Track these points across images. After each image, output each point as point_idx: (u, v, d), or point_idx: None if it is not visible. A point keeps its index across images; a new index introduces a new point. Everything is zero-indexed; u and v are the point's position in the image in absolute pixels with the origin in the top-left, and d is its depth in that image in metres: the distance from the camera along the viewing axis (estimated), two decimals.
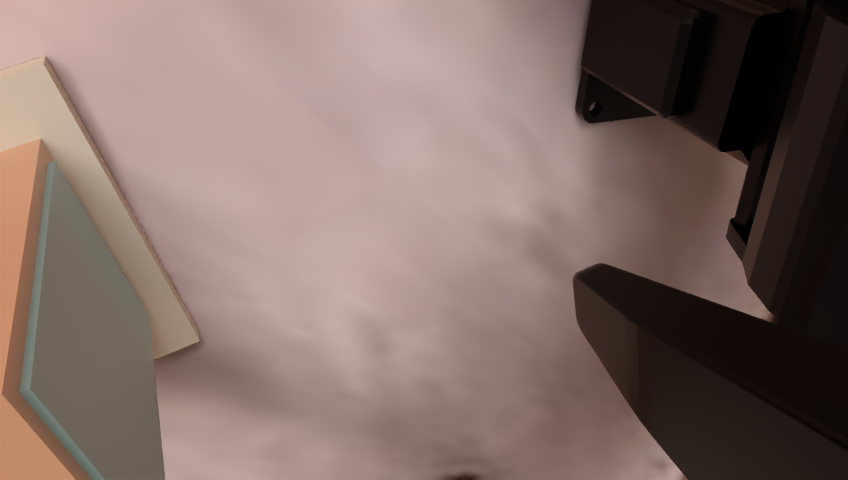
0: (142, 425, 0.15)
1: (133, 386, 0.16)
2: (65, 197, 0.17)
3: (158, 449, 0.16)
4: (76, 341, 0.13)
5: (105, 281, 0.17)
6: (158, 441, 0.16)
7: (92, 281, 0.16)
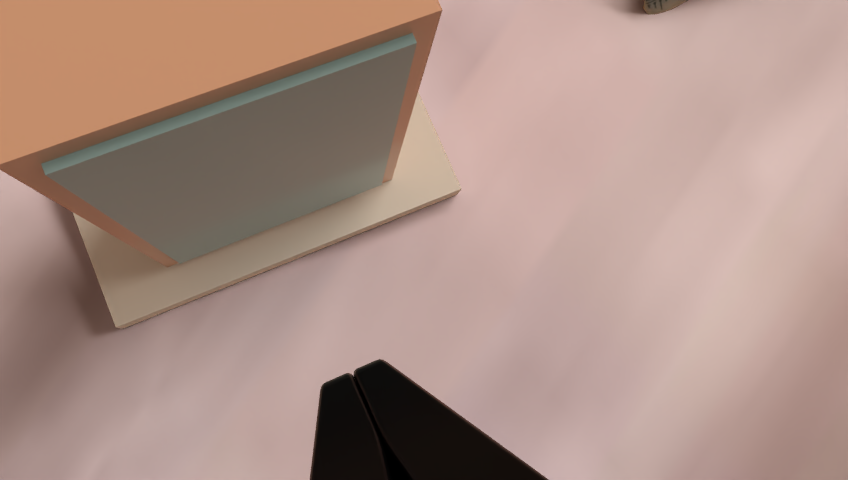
0: (173, 197, 0.12)
1: (203, 201, 0.13)
2: (361, 184, 0.17)
3: (125, 214, 0.12)
4: (333, 131, 0.12)
5: (279, 206, 0.16)
6: (127, 218, 0.12)
7: (306, 186, 0.15)
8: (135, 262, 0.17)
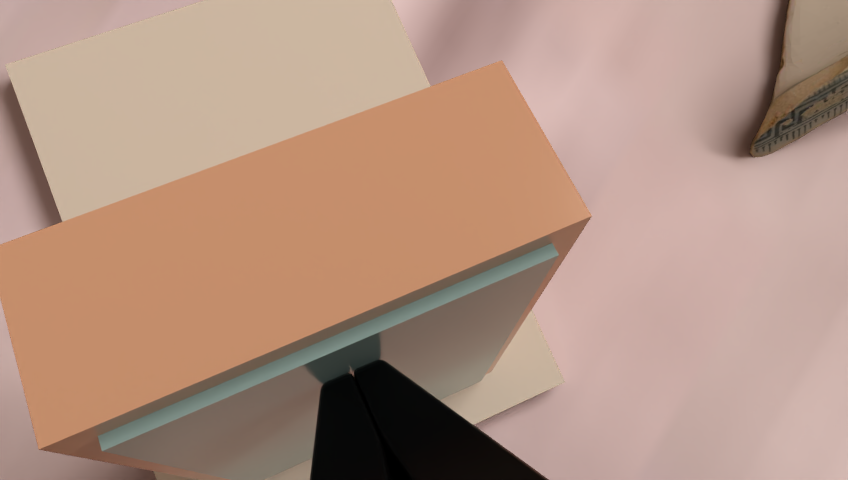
0: (254, 436, 0.10)
1: (287, 433, 0.11)
2: (460, 384, 0.15)
3: (196, 461, 0.10)
4: (444, 348, 0.10)
5: None
6: (199, 464, 0.10)
7: None
8: None
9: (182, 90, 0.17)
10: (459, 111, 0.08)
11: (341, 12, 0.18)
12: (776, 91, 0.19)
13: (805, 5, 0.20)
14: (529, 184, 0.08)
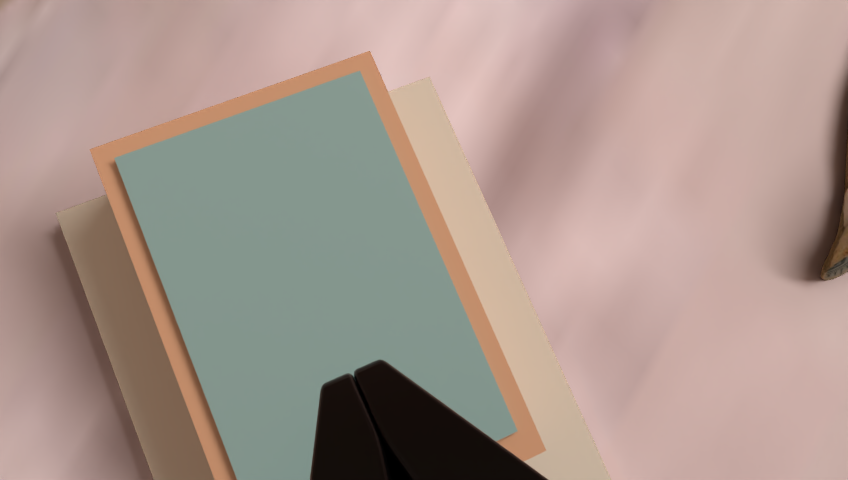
0: (216, 268, 0.14)
1: (251, 305, 0.14)
2: (473, 400, 0.14)
3: (175, 283, 0.14)
4: (350, 201, 0.14)
5: None
6: (178, 297, 0.14)
7: (375, 344, 0.14)
8: None
9: None
10: None
11: None
12: (846, 212, 0.18)
13: None
14: None
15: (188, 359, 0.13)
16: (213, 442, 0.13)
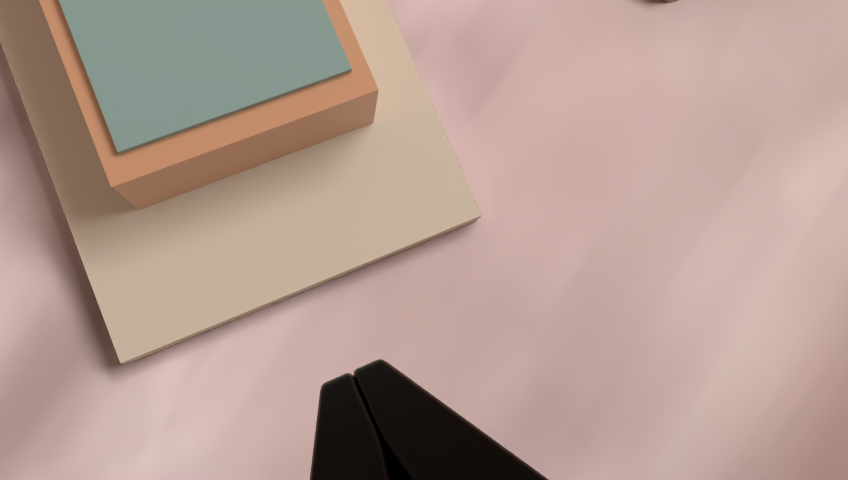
0: None
1: None
2: (311, 41, 0.16)
3: None
4: None
5: (210, 35, 0.15)
6: None
7: None
8: (141, 294, 0.16)
9: None
10: None
11: None
12: None
13: None
14: None
15: None
16: (75, 64, 0.15)
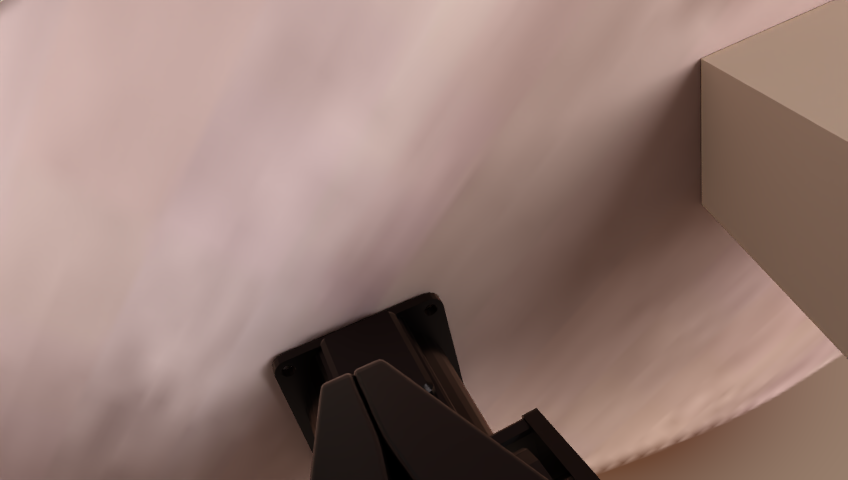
0: None
1: None
2: None
3: None
4: None
5: None
6: None
7: None
8: None
9: None
10: None
11: None
12: None
13: None
14: None
15: None
16: None
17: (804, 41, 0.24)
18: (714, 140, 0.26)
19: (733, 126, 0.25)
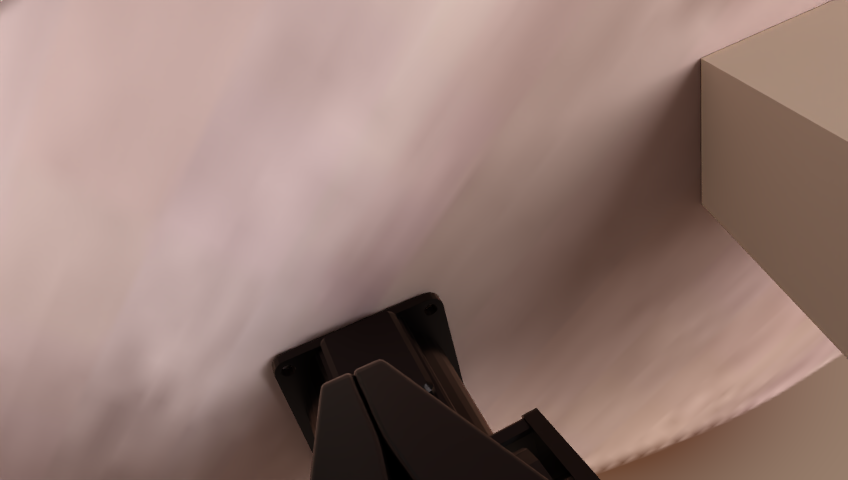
0: None
1: None
2: None
3: None
4: None
5: None
6: None
7: None
8: None
9: None
10: None
11: None
12: None
13: None
14: None
15: None
16: None
17: (804, 41, 0.24)
18: (714, 140, 0.26)
19: (734, 126, 0.25)
